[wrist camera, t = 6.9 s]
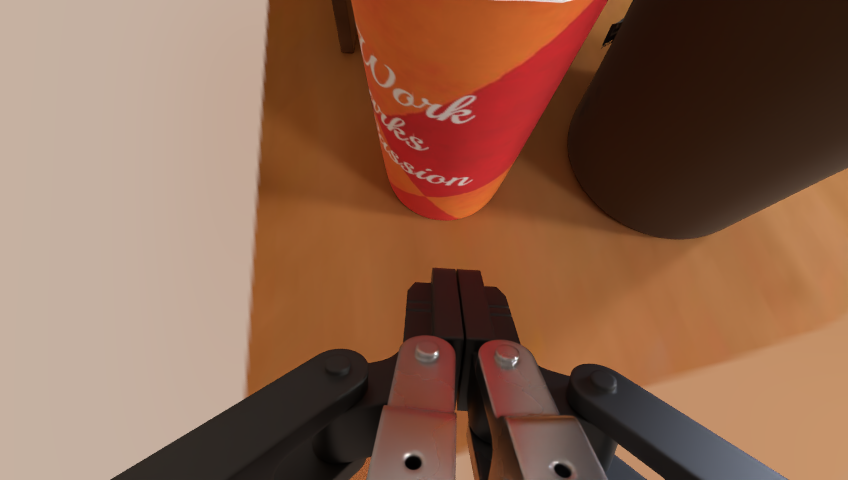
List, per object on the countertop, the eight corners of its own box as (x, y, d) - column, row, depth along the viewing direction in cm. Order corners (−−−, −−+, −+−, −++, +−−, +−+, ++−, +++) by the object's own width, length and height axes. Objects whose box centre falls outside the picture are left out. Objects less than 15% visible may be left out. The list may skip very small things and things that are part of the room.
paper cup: (343, 134, 21) (243, -285, 8) (477, 87, 23) (575, -335, 10) (403, 270, 19) (399, -17, 6) (550, 209, 20) (811, -135, 7)
